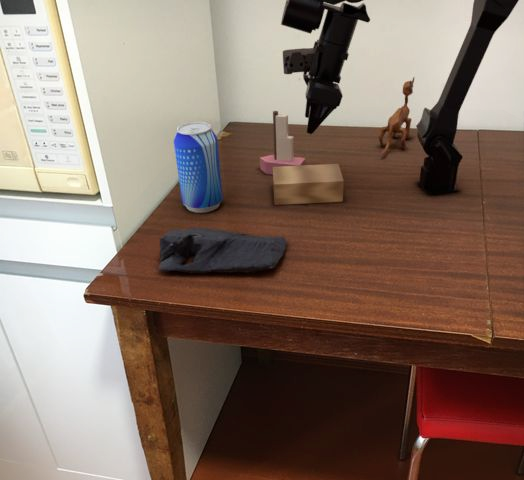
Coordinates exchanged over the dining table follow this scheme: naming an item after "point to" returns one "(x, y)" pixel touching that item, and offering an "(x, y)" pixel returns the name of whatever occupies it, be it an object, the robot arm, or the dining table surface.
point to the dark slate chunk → (219, 251)
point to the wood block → (307, 184)
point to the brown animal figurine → (398, 120)
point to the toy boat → (281, 147)
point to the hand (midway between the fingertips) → (308, 125)
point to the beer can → (198, 167)
